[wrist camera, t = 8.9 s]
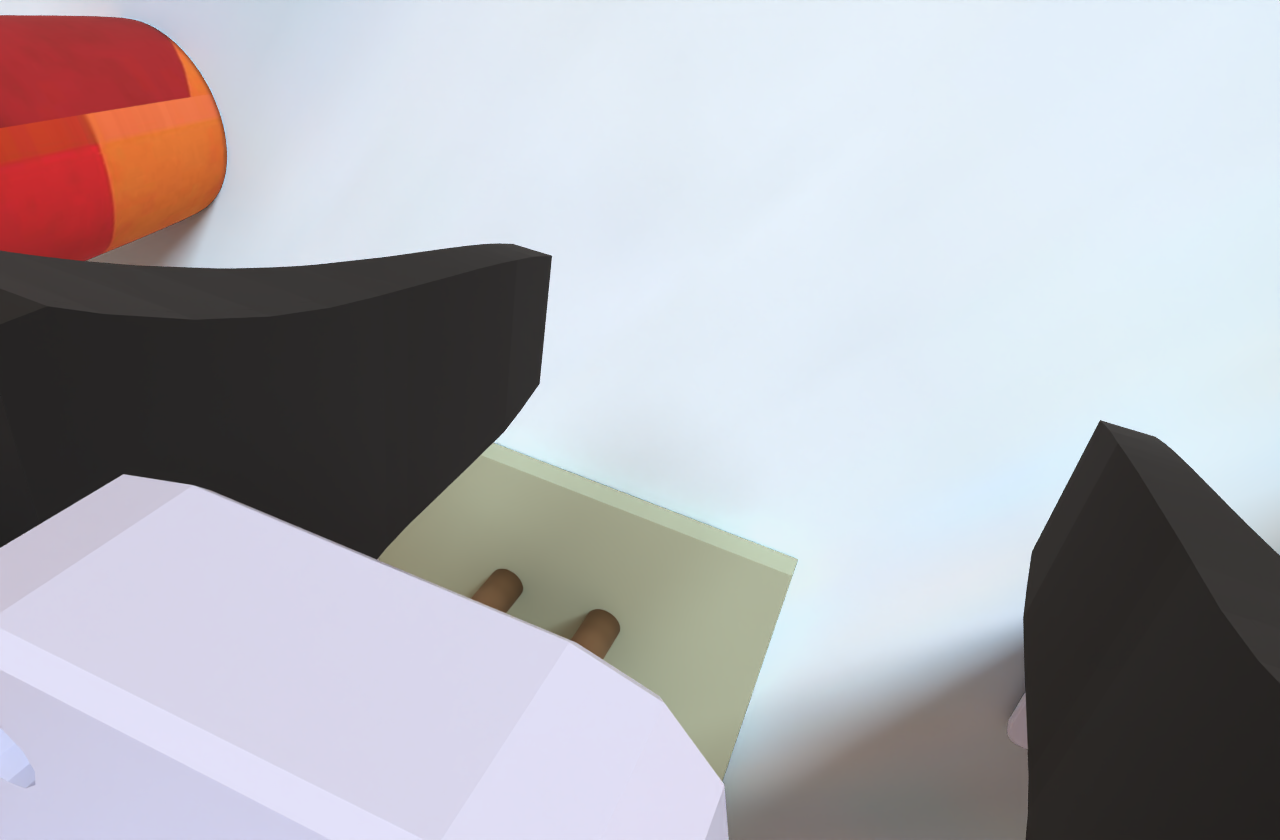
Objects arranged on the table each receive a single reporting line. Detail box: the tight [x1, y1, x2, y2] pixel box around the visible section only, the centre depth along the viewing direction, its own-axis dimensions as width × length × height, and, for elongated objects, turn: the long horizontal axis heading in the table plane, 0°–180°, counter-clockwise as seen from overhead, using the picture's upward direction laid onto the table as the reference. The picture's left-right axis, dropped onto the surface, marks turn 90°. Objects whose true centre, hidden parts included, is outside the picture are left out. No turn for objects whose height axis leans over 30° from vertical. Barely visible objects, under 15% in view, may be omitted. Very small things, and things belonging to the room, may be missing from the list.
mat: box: [379, 443, 798, 781], centre depth 31 cm, size 14×16×1 cm
